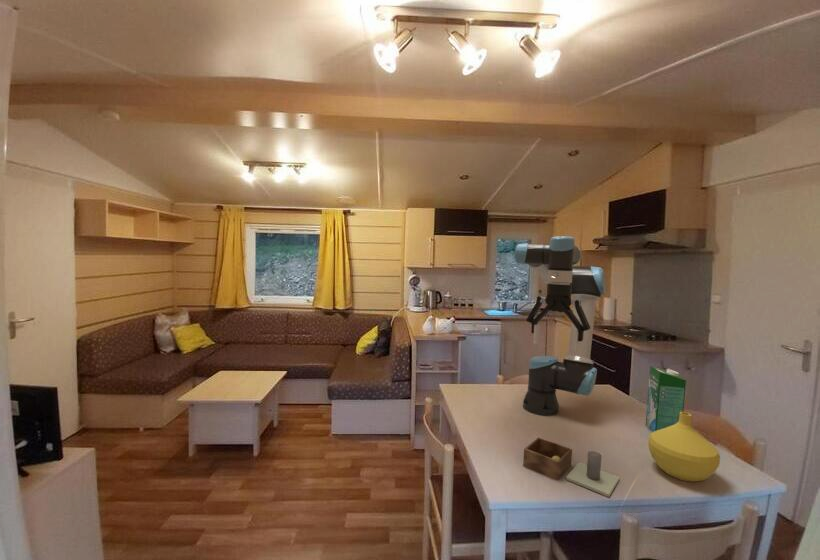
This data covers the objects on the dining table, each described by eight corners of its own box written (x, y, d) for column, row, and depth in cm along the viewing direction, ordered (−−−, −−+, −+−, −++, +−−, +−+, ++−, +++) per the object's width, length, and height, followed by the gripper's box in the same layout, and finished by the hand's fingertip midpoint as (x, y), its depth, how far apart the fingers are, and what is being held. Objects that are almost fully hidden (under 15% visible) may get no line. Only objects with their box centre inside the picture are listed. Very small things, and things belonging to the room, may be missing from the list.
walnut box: (523, 467, 120) (524, 448, 120) (537, 454, 128) (538, 437, 128) (558, 482, 113) (559, 462, 112) (570, 467, 121) (572, 449, 120)
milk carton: (681, 439, 144) (686, 374, 142) (654, 435, 145) (660, 371, 144) (670, 428, 152) (675, 367, 151) (645, 425, 154) (650, 365, 153)
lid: (565, 482, 113) (567, 454, 112) (578, 467, 121) (580, 440, 121) (608, 500, 105) (610, 469, 104) (619, 482, 114) (621, 454, 113)
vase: (642, 452, 132) (646, 398, 131) (706, 465, 125) (711, 408, 124) (652, 480, 115) (657, 419, 114) (727, 497, 108) (733, 431, 107)
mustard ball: (549, 465, 120) (549, 456, 120) (553, 462, 123) (553, 452, 122) (558, 469, 118) (559, 460, 118) (562, 465, 121) (563, 456, 120)
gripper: (519, 281, 131) (515, 341, 132) (596, 287, 114) (591, 356, 116) (528, 280, 136) (525, 338, 138) (603, 286, 120) (599, 352, 121)
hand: (555, 347), depth 127 cm, fingers open, 13 cm apart
